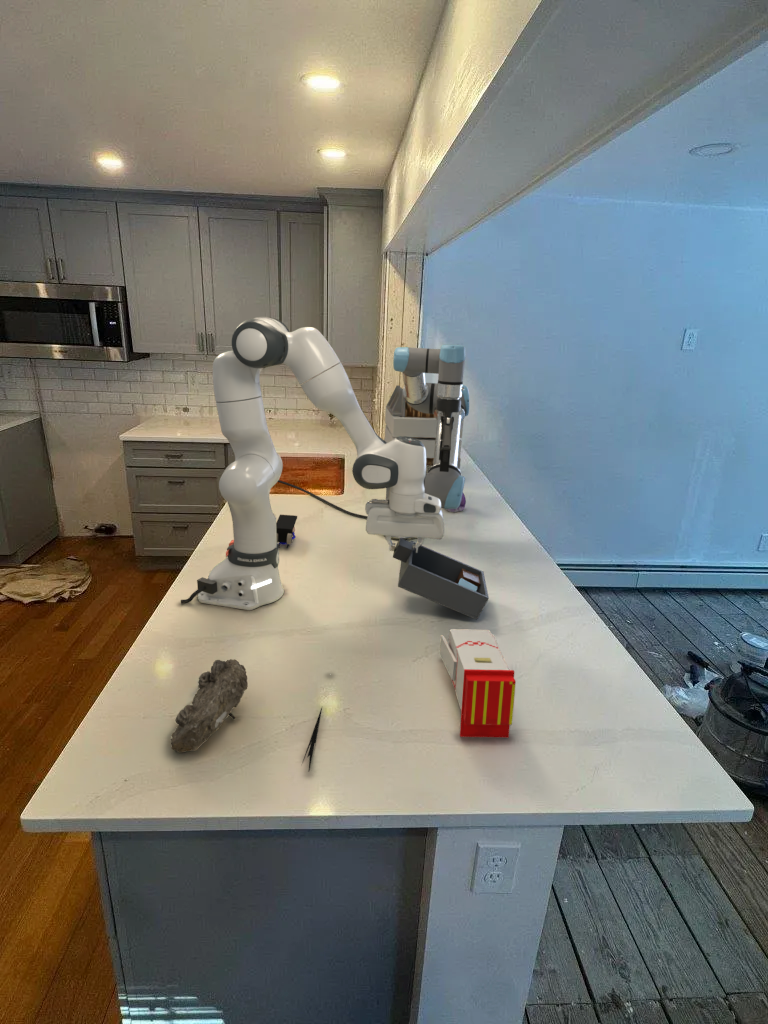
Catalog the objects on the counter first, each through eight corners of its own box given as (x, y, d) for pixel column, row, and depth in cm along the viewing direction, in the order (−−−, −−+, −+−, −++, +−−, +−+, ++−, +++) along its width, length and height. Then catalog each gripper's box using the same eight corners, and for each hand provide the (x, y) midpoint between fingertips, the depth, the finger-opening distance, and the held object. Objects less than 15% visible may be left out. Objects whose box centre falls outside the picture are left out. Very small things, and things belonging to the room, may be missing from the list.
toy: (489, 613, 130) (525, 677, 101) (485, 667, 133) (518, 744, 104) (437, 612, 130) (457, 676, 101) (434, 666, 133) (453, 743, 103)
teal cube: (466, 609, 145) (449, 600, 146) (469, 602, 150) (452, 593, 151) (475, 593, 143) (457, 584, 144) (477, 586, 148) (460, 577, 149)
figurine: (452, 514, 221) (455, 477, 216) (438, 506, 229) (441, 470, 224) (472, 511, 225) (475, 475, 220) (457, 503, 234) (460, 468, 229)
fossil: (195, 660, 117) (247, 628, 112) (227, 691, 120) (279, 661, 115) (146, 746, 98) (206, 711, 93) (185, 779, 101) (245, 748, 96)
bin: (384, 581, 143) (397, 552, 140) (388, 555, 157) (400, 529, 154) (476, 619, 144) (492, 592, 141) (472, 591, 159) (486, 566, 156)
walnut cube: (455, 591, 152) (463, 576, 150) (454, 583, 157) (462, 568, 155) (472, 598, 152) (480, 583, 151) (470, 590, 157) (478, 575, 155)
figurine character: (292, 555, 182) (298, 532, 196) (292, 534, 179) (298, 513, 192) (272, 554, 182) (279, 532, 195) (270, 533, 179) (278, 512, 192)
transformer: (381, 463, 289) (385, 382, 275) (444, 464, 292) (450, 384, 279) (389, 482, 257) (393, 392, 243) (459, 483, 261) (467, 394, 247)
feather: (331, 679, 122) (336, 673, 122) (307, 777, 96) (313, 769, 95) (324, 675, 122) (329, 669, 121) (298, 772, 95) (304, 764, 95)
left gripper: (364, 502, 141) (362, 553, 146) (446, 507, 140) (442, 558, 144) (367, 494, 147) (365, 543, 151) (446, 499, 146) (442, 549, 150)
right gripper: (463, 405, 160) (457, 477, 167) (459, 392, 183) (453, 456, 190) (437, 403, 160) (431, 475, 167) (436, 391, 184) (431, 455, 191)
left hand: (403, 551), depth 148 cm, fingers closed on bin, 4 cm apart
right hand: (443, 465), depth 179 cm, fingers open, 13 cm apart
